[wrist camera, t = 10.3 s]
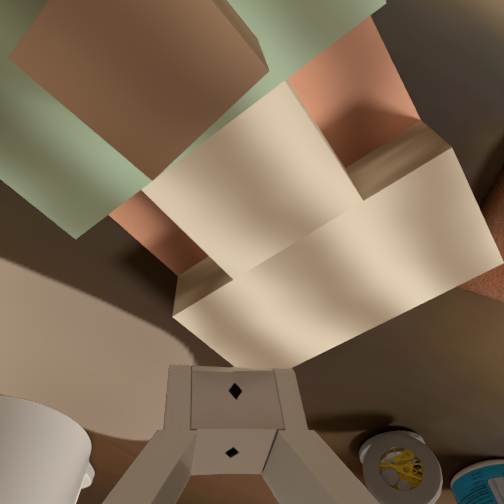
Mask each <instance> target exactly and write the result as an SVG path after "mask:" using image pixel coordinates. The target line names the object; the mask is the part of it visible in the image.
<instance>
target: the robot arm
mask: <svg viewBox="0 0 504 504" xmlns="http://www.w3.org/2000/svg"><path fill="white" fill-rule="evenodd" d="M90 453H91V441H90V438H89V436H88V435H87V433H86V432H85V430H84V429H83V428H82V427H81V426H80V425H79V424H78V423H76V422H75V421H74V420H73V419H71V418H70V417H68V416H66V415H64V414H63V413H61V412H59V411H57V410H55V409H53V408H50V407H48V406H45V405H42V404H40V403H36V402H33V401H29V400H25V399H21V398H15V397H10V396H2V395H0V504H76V502H77V499H78V496H79V493H80V490H81V489H82V488H85V487H88V486H90V485H91V483H92V480H93V477H94V475H95V472H94V470H93V468H92V466H91V464H90V463H89V457H90ZM207 474H262V477H263V479H264V480H265V482H266V483H267V485H268V487H269V488H270V490H271V491H272V493H273V495H274V496H275V498H276V499H277V501H278V502H279V504H380V503H379V502H378V501H377V500H376V499H375V497H374V496H373V495H372V494H371V493H370V492H369V491H368V490H367V489H366V487H365V486H364V485H363V484H362V483H361V482H360V481H359V480H358V479H357V477H356V476H355V475H354V474H353V473H352V472H351V471H350V470H349V469H348V467H347V466H346V465H345V464H344V463H343V462H342V461H341V460H340V459H339V457H338V456H337V455H336V454H335V453H334V452H333V451H332V450H331V448H330V447H329V446H328V445H327V444H326V443H325V442H324V441H323V440H322V438H321V437H320V436H319V435H318V434H317V433H316V432H315V431H314V430H308V427H307V423H306V418H305V414H304V410H303V405H302V401H301V397H300V393H299V388H298V384H297V380H296V376H295V372H294V371H293V369H287V368H265V367H232V368H227V367H209V366H189V365H169V371H168V383H167V394H166V404H165V415H164V428H163V430H157V432H156V433H155V434H154V436H153V437H152V438H151V439H150V441H149V442H148V443H147V445H146V446H145V447H144V449H143V450H142V451H141V453H140V454H139V455H138V457H137V458H136V459H135V461H134V462H133V463H132V465H131V466H130V467H129V468H128V470H127V471H126V472H125V474H124V475H123V476H122V478H121V479H120V480H119V482H118V483H117V484H116V486H115V487H114V488H113V490H112V491H111V492H110V494H109V495H108V496H107V498H106V499H105V500H104V502H103V503H102V504H175V503H176V501H177V500H178V498H179V496H180V494H181V493H182V491H183V489H184V487H185V485H186V484H187V482H188V480H189V478H190V475H207Z"/></svg>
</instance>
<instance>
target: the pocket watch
mask: <svg viewBox="0 0 504 504" xmlns="http://www.w3.org/2000/svg"><path fill="white" fill-rule="evenodd" d="M359 459H360V461H361V463H362V464H363V476H364V480H365V483H366V485H367V488H368V490H369V492H370V493H371V494H372V495H373V496H374V497H375V499H376V500H377V501H378V502H379V503H380V504H434V503H435V502H436V500H437V499H438V497H439V496H440V494H441V489H442V484H443V478H442V471H441V467H440V464H439V462H438V460H437V458H436V456H435V455H434V454H433V452H432V451H431V450H430V449H429V448H428V447H427V446H426V445H425V443H424V440H423V438H422V437H421V436H419V435H417V434H415V433H414V432H410V431H399V430H397V431H390V432H385V433H382V434H378V435H376V436H374V437H372V438H370V439H368V440H367V441H366V442H365V443H364V444H362V446H361V448H360V450H359ZM415 461H418V462H419V463H414V462H415ZM411 463H413V464H411ZM413 467H422V468H421V469H419V471H420V472H422V474H416V473H417V472H418V471H417V470H416V469H414V468H413ZM413 469H414V470H415V471H417V472H414V471H412V470H413ZM381 470H382V472H381V473H380V471H381ZM412 472H413V473H412ZM418 476H421V477H418ZM415 478H416V479H415ZM413 479H414V480H413ZM417 479H419V480H417Z"/></svg>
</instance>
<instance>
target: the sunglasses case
mask: <svg viewBox="0 0 504 504" xmlns="http://www.w3.org/2000/svg"><path fill="white" fill-rule="evenodd" d="M480 211H481V213H482V215H483V217H484V219H485V222H486V224H487V226H488V228H489V230H490V233H491V235H492V237H493V239H494V241H495V244H496V246H497V248H498V250H499V252H500V255H501V257H502V259H503V261H504V166H503V168H502V170H501V172H500V174H499V175H498V177H497V179H496V181H495V183H494V184H493V186H492V188H491V190H490V192H489V194H488V195H487V197H486V198H485V200H484V202H483V204H482V205H481V207H480ZM457 288H459V289H463V290H466V291H468V292H472V293H475V294H478V295H481V296H484V297H487V298H489V299H493V300H496V301H499V302H501V303H504V263H503V264H501V265H499V266H497V267H495V268H493V269H491V270H489V271H487V272H485V273H483V274H481V275H479V276H477V277H475V278H473V279H471V280H469V281H467V282H465V283H463V284H461V285H459V286H457Z"/></svg>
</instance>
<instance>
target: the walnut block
mask: <svg viewBox="0 0 504 504" xmlns="http://www.w3.org/2000/svg"><path fill="white" fill-rule="evenodd" d="M7 58H8V59H9V60H11V61H12V62H13V63H14V64H15V65H16V66H18V67H19V68H20V69H21V70H22V71H24V72H25V73H26V74H27V75H28V76H29V77H31V78H32V79H33V80H34V81H35V82H36V83H38V84H39V85H40V86H41V87H42V88H43V89H45V90H46V91H47V92H48V93H49V94H51V95H52V96H53V97H54V98H55V99H56V100H58V101H59V102H60V103H61V104H62V105H63V106H65V107H66V108H67V109H68V110H69V111H71V112H72V113H73V114H74V115H75V116H76V117H78V118H79V119H80V120H81V121H82V122H83V123H85V124H86V125H87V126H88V127H89V128H91V129H92V130H93V131H94V132H95V133H96V134H98V135H99V136H100V137H101V138H102V139H103V140H105V141H106V142H107V143H108V144H109V145H111V146H112V147H113V148H114V149H115V150H116V151H118V152H119V153H120V154H121V155H122V156H123V157H125V158H126V159H127V160H128V161H129V162H130V163H132V164H133V165H134V166H135V167H136V168H138V169H139V170H140V171H141V172H142V173H143V174H145V175H146V176H147V177H148V178H149V179H150V180H152V181H153V180H154V179H155V178H156V177H157V176H158V175H159V174H161V173H162V172H163V171H164V170H165V169H166V168H167V167H168V166H169V165H170V164H171V163H172V162H173V161H174V160H175V159H176V158H178V157H179V156H180V155H181V154H182V153H183V152H184V151H185V150H186V149H187V148H188V147H189V146H190V145H191V144H192V143H194V142H195V141H196V140H197V139H198V138H199V137H200V136H201V135H202V134H203V133H204V132H205V131H206V130H207V129H208V128H209V127H211V126H212V125H213V124H214V123H215V122H216V121H217V120H218V119H219V118H220V117H221V116H222V115H223V114H224V113H225V112H226V111H228V110H229V109H230V108H231V107H232V106H233V105H234V104H235V103H236V102H237V101H238V100H239V99H240V98H241V97H242V96H244V95H245V94H246V93H247V92H248V91H249V90H250V89H251V88H252V87H253V86H254V85H255V84H256V83H257V82H258V81H259V80H261V79H262V78H263V77H264V76H265V75H266V74H267V73H268V72H269V68H268V65H267V63H266V60H265V57H264V55H263V52H262V49H261V46H260V44H259V41H258V39H257V37H256V36H255V35H254V34H253V32H252V31H251V30H250V29H249V27H248V26H247V25H246V24H245V22H244V21H243V20H242V19H241V17H240V16H239V15H238V14H237V12H236V11H235V10H234V9H233V7H232V6H231V5H230V4H229V2H228V1H227V0H49V1H48V3H47V4H46V5H45V7H44V8H43V10H42V11H41V12H40V14H39V15H38V16H37V18H36V19H35V20H34V22H33V23H32V25H31V26H30V27H29V29H28V30H27V31H26V33H25V34H24V36H23V37H22V38H21V40H20V41H19V42H18V44H17V45H16V46H15V48H14V49H13V51H12V52H11V53H10V55H9V56H8V57H7Z"/></svg>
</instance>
